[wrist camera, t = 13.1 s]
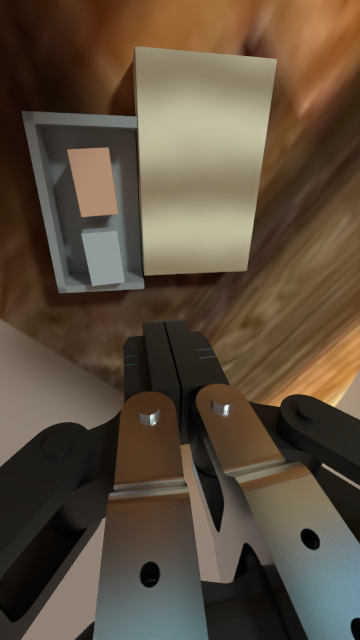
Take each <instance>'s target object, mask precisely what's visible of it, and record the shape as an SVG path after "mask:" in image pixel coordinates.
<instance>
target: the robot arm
mask: <svg viewBox="0 0 360 640" xmlns="http://www.w3.org/2000/svg"><path fill="white" fill-rule="evenodd" d="M123 350H124V396H125V400H124V405H123V407H122V409H121V410H120V412H119V413H118V414H117V415H116V416H115V417H114V418H113V419H111V420H110V421H108V422H107V423H105V424H102V425H100V426H97V427H95V428H93V429H90V430H87V429H86V428H85V427H83V426H82V425H80V424H77V423H72V422H66V423H59V424H55V425H53V426H50V427H48V428H46V429H45V430H43V431H41V432H40V433H39V434H37V435H36V436H35V437H34V438H33V439H32V440H31V441H29V442H28V443H27V444H26V445H25V446H24V447H22V448H21V449H20V450H19V451H18V452H17V453H16V454H14V455H13V456H12V457H11V458H10V459H9V460H8V461H7V462H5V463H4V464H3V465H2V466H1V467H0V640H21V639H22V637H23V636H24V634H25V633H26V631H27V630H28V629H29V627H30V626H31V624H32V623H33V621H34V620H35V618H36V617H37V615H38V614H39V613H40V611H41V610H42V608H43V607H44V605H45V604H46V602H47V601H48V599H49V598H50V597H51V595H52V594H53V592H54V591H55V589H56V588H57V586H58V585H59V584H60V582H61V581H62V579H63V578H64V576H65V575H66V573H67V572H68V570H69V569H70V567H71V566H72V565H73V563H74V562H75V560H76V558H77V557H78V556H79V554H80V553H81V551H82V550H83V549H84V547H85V546H86V544H87V543H88V541H89V540H90V538H91V537H92V536H93V534H94V532H95V531H96V530H97V528H98V527H99V525H100V523H101V521H102V519H103V518H105V517H106V521H105V531H104V540H103V549H102V559H101V569H100V578H99V587H98V597H97V606H96V615H95V621H94V622H93V623H91V624H90V625H89V626H88V627H87V628H86V629H85V630H84V631H83V632H82V633H81V634H80V635H79V636H78V637H77V638H76V639H75V640H360V490H359V489H358V488H356V487H355V486H353V485H351V484H349V483H348V482H346V481H345V480H343V479H341V478H340V477H338V476H337V475H335V474H333V473H332V472H330V471H329V470H327V469H325V468H324V467H322V466H321V465H322V463H324V464H325V465H327V466H329V467H330V468H332V469H333V470H335V471H337V472H338V473H340V474H342V475H343V476H345V477H347V478H348V479H350V480H351V481H353V482H355V483H356V484H358V485H360V420H359V419H357V418H355V417H353V416H350V415H349V414H347V413H344V412H342V411H341V410H339V409H337V408H335V407H332V406H330V405H328V404H326V403H324V402H322V401H320V400H318V399H316V398H314V397H311V396H307V395H301V394H295V395H290V396H288V397H286V398H285V399H284V400H283V401H282V402H281V405H280V407H277V406H269V405H262V404H256V403H253V402H250V401H248V400H247V399H246V397H245V396H244V395H243V394H242V393H241V392H240V391H239V390H238V389H236V388H234V387H232V386H230V384H229V382H228V380H227V378H226V376H225V374H224V372H223V370H222V368H221V365H220V363H219V361H218V359H217V357H216V355H215V353H214V351H213V350H212V347H211V344H210V342H209V340H208V338H206V337H205V336H204V335H202V334H201V333H200V332H199V331H197V332H189V331H188V329H187V326H186V324H185V321H184V320H183V319H181V320H167V321H164V322H163V321H154V322H143V336H135V337H129V338H128V340H127V341H126V343H125V344H124V346H123ZM179 440H180V441H179ZM184 444H190V449H191V453H192V461H191V466H192V471H193V475H194V478H195V481H196V484H197V487H198V491H199V494H200V497H201V500H202V503H203V507H204V510H205V513H206V516H207V520H208V522H209V526H210V529H211V533H212V536H213V540H214V545H215V552H216V560H217V566H218V571H219V575H220V579H221V582H222V583H216V582H207V581H201V580H200V571H199V564H198V556H197V549H196V541H195V533H194V526H193V518H192V511H191V503H190V496H189V490H188V486H187V484H186V483H185V480H184V474H183V466H182V458H181V449H180V445H184Z"/></svg>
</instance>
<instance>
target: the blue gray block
mask: <svg viewBox="0 0 360 640" xmlns="http://www.w3.org/2000/svg"><path fill="white" fill-rule="evenodd" d="M81 235H82V240H83V244H84V249H85V254H86V259H87V263H88V268H89V273H90V278H91V282H92V286H96V285H106V284H115V283H124V282H125V279H124V264H123V257H122V250H121V243H120V236H119V229H118V222H117V220H113V221H100V222H87V223H86V225H85V227H84V229H83V231H82V233H81Z"/></svg>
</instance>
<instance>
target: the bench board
mask: <svg viewBox="0 0 360 640" xmlns="http://www.w3.org/2000/svg"><path fill="white" fill-rule="evenodd" d="M276 63H277V59H270V58H259V57H248V56H237V55H226V54H215V53H204V52H193V51H182V50H171V49H160V48H149V47H138V46H135V50H134V56H133V76H134V98H135V117H137V129H136V142H137V164H138V186H139V208H140V229H141V251H142V266H143V270H144V275H165V274H187V273H208V272H230V271H247V265H248V258H249V251H250V244H251V237H252V230H253V223H254V216H255V209H256V202H257V195H258V188H259V181H260V174H261V167H262V160H263V153H264V146H265V139H266V132H267V126H268V119H269V112H270V105H271V98H272V91H273V84H274V77H275V70H276Z"/></svg>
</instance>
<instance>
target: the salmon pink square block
mask: <svg viewBox="0 0 360 640" xmlns="http://www.w3.org/2000/svg"><path fill="white" fill-rule="evenodd" d="M67 152H68V156H69V161H70V166H71V170H72V175H73V180H74V184H75V189H76V194H77V198H78V203H79V208H80V212H81V217H89V216H101V215H113V214H118V201H117V194H116V188H115V181H114V174H113V168H112V161H111V154H110V149H109V148H108V147H106V148H87V149H69V150H67Z"/></svg>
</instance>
